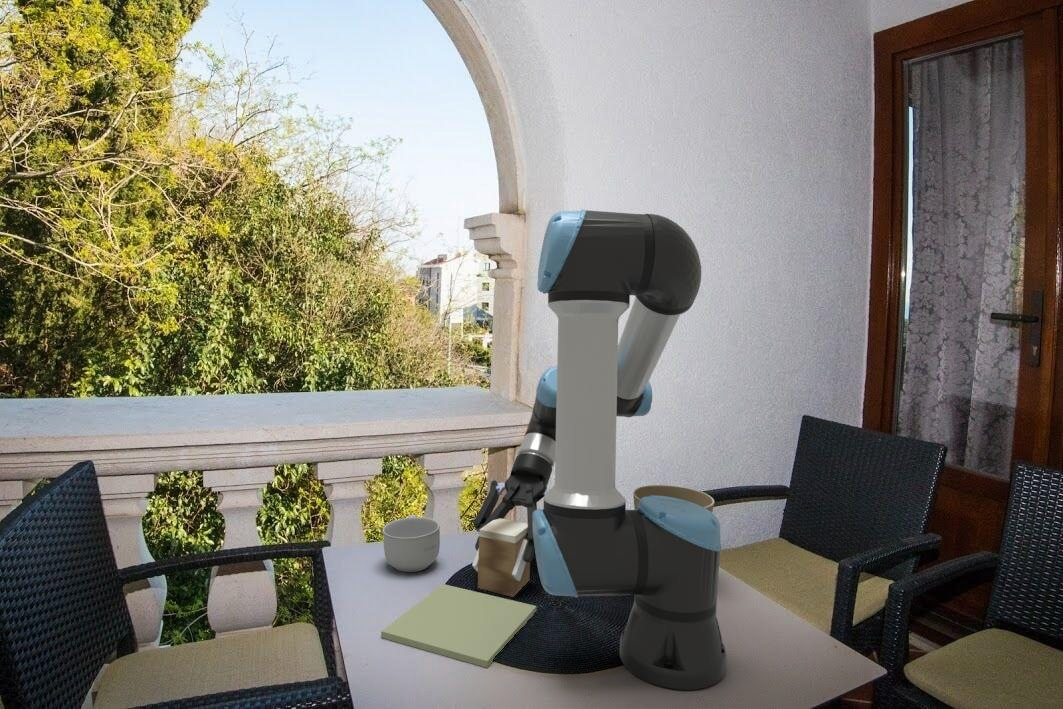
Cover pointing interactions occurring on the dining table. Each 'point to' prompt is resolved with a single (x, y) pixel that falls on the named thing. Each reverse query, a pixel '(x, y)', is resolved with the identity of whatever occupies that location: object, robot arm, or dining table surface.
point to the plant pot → (674, 495)
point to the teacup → (411, 543)
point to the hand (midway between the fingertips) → (495, 573)
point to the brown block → (501, 556)
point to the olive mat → (460, 624)
